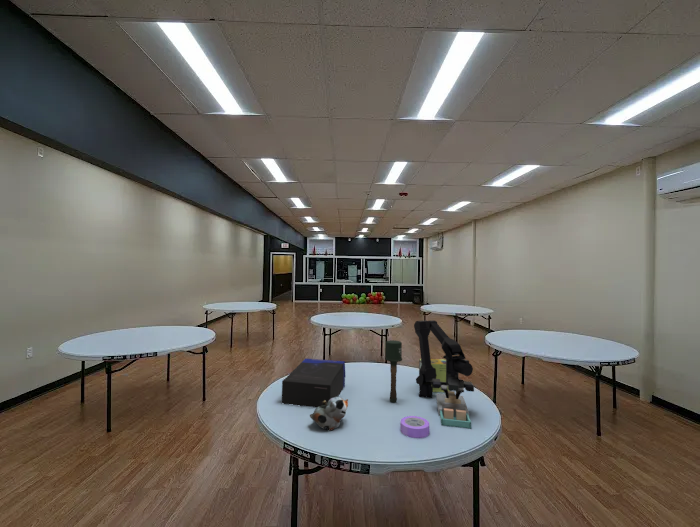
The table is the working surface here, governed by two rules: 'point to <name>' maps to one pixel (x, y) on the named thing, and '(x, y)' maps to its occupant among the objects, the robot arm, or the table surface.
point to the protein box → (438, 371)
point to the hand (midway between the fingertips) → (452, 403)
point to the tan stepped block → (453, 402)
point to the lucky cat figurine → (330, 413)
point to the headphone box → (314, 382)
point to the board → (441, 398)
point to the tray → (456, 422)
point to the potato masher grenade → (393, 364)
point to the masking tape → (414, 427)
